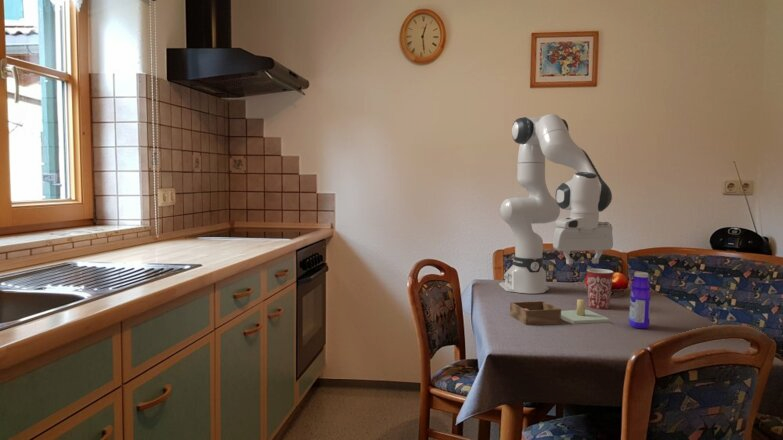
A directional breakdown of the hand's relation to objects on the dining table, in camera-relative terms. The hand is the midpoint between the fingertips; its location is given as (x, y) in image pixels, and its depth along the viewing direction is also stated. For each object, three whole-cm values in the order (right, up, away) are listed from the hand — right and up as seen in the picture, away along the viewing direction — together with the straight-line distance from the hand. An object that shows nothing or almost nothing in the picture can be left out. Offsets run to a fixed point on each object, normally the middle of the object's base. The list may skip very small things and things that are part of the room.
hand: (582, 263), depth 183 cm
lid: (0, -18, +1) cm, 18 cm away
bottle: (+16, -20, -6) cm, 26 cm away
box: (-16, -19, -1) cm, 25 cm away
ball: (-18, -18, +1) cm, 26 cm away
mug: (+14, -18, +22) cm, 31 cm away
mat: (0, -19, +1) cm, 19 cm away
